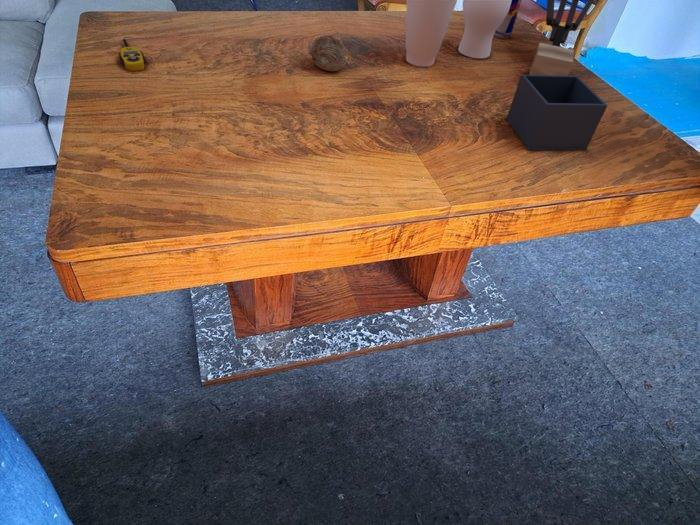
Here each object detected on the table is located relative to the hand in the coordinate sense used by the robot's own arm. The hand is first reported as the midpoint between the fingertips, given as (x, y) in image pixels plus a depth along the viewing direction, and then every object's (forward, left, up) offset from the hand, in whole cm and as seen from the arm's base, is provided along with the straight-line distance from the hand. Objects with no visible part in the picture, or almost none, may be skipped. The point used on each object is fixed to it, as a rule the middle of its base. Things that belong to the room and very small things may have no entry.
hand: (553, 54), depth 123 cm
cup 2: (+11, +15, -5) cm, 20 cm away
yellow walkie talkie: (+3, +98, -5) cm, 98 cm away
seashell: (0, +55, -5) cm, 55 cm away
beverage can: (+23, +3, -5) cm, 24 cm away
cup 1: (+5, +31, -5) cm, 32 cm away
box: (-29, +13, -5) cm, 32 cm away
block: (-5, +2, -5) cm, 7 cm away
